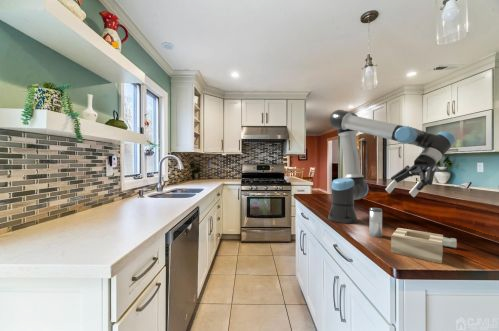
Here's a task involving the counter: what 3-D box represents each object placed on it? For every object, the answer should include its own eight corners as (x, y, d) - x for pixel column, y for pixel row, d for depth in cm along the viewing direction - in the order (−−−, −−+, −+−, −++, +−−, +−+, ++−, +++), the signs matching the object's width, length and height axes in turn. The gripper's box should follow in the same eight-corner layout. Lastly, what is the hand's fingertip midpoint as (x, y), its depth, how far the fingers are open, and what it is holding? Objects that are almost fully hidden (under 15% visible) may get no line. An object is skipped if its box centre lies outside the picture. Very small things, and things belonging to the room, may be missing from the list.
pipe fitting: (429, 242, 95) (429, 245, 90) (429, 232, 96) (429, 235, 90) (455, 246, 90) (456, 250, 85) (455, 236, 91) (456, 239, 85)
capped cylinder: (370, 233, 105) (370, 207, 105) (383, 235, 102) (383, 208, 102) (367, 235, 101) (368, 208, 101) (380, 238, 98) (380, 210, 98)
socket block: (397, 242, 93) (397, 227, 93) (442, 251, 84) (442, 234, 84) (391, 252, 82) (391, 235, 82) (441, 263, 73) (442, 245, 73)
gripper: (461, 165, 93) (429, 202, 91) (409, 165, 118) (383, 195, 115) (449, 152, 92) (417, 189, 90) (400, 155, 117) (374, 185, 115)
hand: (398, 193), depth 103 cm, fingers open, 13 cm apart
